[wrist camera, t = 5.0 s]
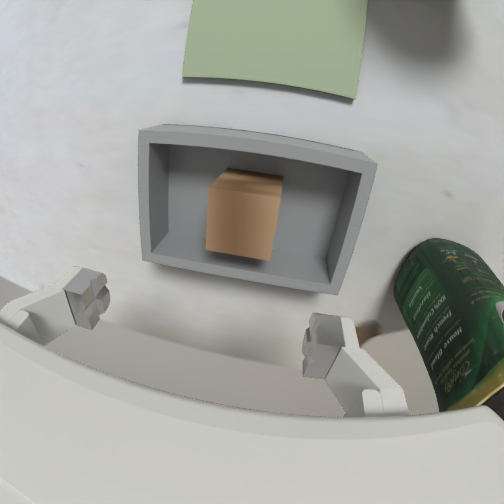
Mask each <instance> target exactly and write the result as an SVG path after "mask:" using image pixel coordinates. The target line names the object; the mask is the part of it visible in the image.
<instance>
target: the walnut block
mask: <svg viewBox="0 0 504 504" xmlns="http://www.w3.org/2000/svg"><path fill="white" fill-rule="evenodd" d="M282 183H283V176H280V175H274V174H267V173H261V172H254V171H248V170H241V169H233V168H227V169H226V170H225V171H224V172H223V173H222V174H221V175H220V176H219V177H218V178H217V179H216V181H215V182H214V183H213V184H212V185H211V186H210V187H209V194H208V209H207V226H206V246H205V250H209V251H215V252H221V253H227V254H233V255H238V256H244V257H250V258H256V259H261V260H267V261H270V257H271V252H272V246H273V241H274V235H275V229H276V224H277V218H278V212H279V206H280V201H281V192H282Z"/></svg>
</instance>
